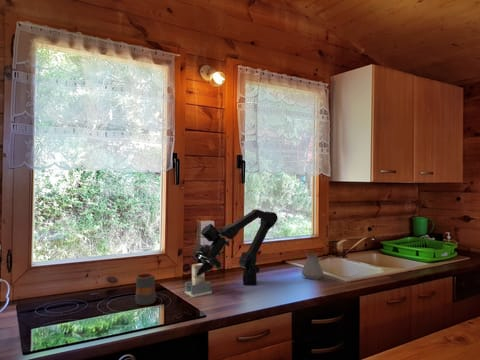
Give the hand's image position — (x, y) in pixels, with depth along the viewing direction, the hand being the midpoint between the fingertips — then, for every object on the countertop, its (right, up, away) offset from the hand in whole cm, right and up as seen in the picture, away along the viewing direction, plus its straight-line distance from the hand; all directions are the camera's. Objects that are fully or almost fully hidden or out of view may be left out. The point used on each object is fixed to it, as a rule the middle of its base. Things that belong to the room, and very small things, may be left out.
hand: (195, 274), depth 176 cm
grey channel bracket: (+1, -9, +1) cm, 9 cm away
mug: (-21, -9, -11) cm, 25 cm away
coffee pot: (+62, -9, +22) cm, 66 cm away
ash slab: (+1, -7, +1) cm, 7 cm away
